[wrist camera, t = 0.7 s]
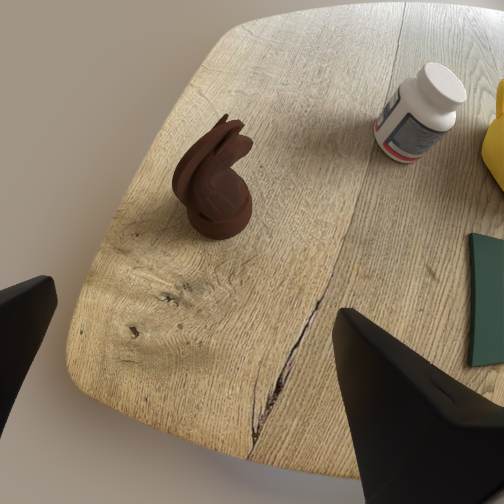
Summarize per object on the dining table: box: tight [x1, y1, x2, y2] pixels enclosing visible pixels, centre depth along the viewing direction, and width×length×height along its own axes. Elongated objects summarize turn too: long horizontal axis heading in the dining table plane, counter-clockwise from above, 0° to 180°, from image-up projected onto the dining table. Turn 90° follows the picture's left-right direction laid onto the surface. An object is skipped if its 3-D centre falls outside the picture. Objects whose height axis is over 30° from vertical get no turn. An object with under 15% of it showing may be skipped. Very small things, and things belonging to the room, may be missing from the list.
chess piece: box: [172, 114, 253, 239], centre depth 18 cm, size 5×5×10 cm
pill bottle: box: [374, 62, 467, 163], centre depth 22 cm, size 5×5×9 cm
